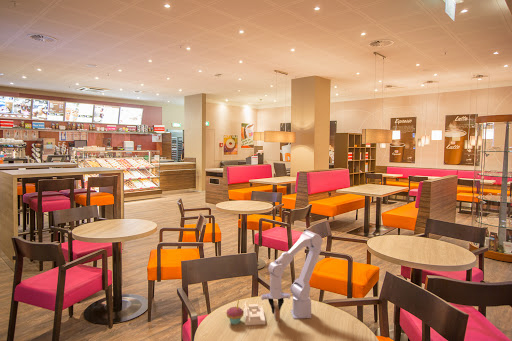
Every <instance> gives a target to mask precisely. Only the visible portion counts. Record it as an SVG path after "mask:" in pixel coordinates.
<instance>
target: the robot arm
mask: <svg viewBox="0 0 512 341" xmlns="http://www.w3.org/2000/svg"><path fill="white" fill-rule="evenodd" d="M322 244H323V238H322V236H321V235H320V234H318V233H315V232H313V231H311V230H308V229H306V230H304V231H303V232H302V233H301V234H300V236H299V239H297V241H296V242H295V243H294V244H293V246H291V248H290V249H289V250H288V251H284V252H282V253H281V255H279V257H278V258H277V259H275V260H274V261H272V262H270V263H269V264H268V267H267V270H268V272H269V293H265V294H261V296H260V297H261V298H260V299H261V301H264V300H268V303H269V306H270V308H271V313H272V315H274V301H275V300H277V304H278V307H279V310H280V311H281V309H282V307H283V304H284V301H285V299H288V300H291V295H292V309H290V313H291V315H292V318H293V319H295V320H297V319H311V318H312V299H311V298H310V295H311V294H310V292H311V291H310V290H311V285H310V283H309V282H310V280H311V278H312V275H313V272H314V269H315V267H316V265H317V262H318V258H319V256H320V254H321V251H322ZM305 247H306V248H307V247H308V250H309V251H308V253H307V255H306V259H305V261H304V264H303V266H302V269H301V271H300V274H299V277H298V278H296V279H294V281H293V283H292V284H291V285H290V289H289V290H290V291H289V292H290V293H289V292H282V275H284V272H285V269H286V267H287V266H289V264H291V263H292V262H293V260H294V257H295V256H296V255H297V254H298V253H299V252H300V251H301V250H303V248H305Z"/></svg>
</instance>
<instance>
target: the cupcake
mask: <svg viewBox="0 0 512 341" xmlns="http://www.w3.org/2000/svg"><path fill="white" fill-rule="evenodd" d="M239 303H240V299H237V303H236V306H231V307H230V308H228V309H227V310H226V312H225V313H226V317H227V318H228V319H229V321H230V324H232V325H238V324H240V322H241V319H242V317H244V309H242V308H241V307H239Z"/></svg>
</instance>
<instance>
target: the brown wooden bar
mask: <svg viewBox="0 0 512 341" xmlns="http://www.w3.org/2000/svg"><path fill="white" fill-rule="evenodd" d="M273 301H274V314H273V317H274V320H275V322H281V309H280V310H279V307H278V300H277V299H274V300H273Z"/></svg>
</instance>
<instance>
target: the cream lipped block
mask: <svg viewBox="0 0 512 341" xmlns="http://www.w3.org/2000/svg"><path fill="white" fill-rule="evenodd" d="M243 306H244V307H243V311H244V312H243V317H244V325H245V326H253V325H254V326H256V325H266V317H265V312H264V308H263V306H261V307H260V306H259V304H258V303H252V304H248V306H247V302H244V305H243Z"/></svg>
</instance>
